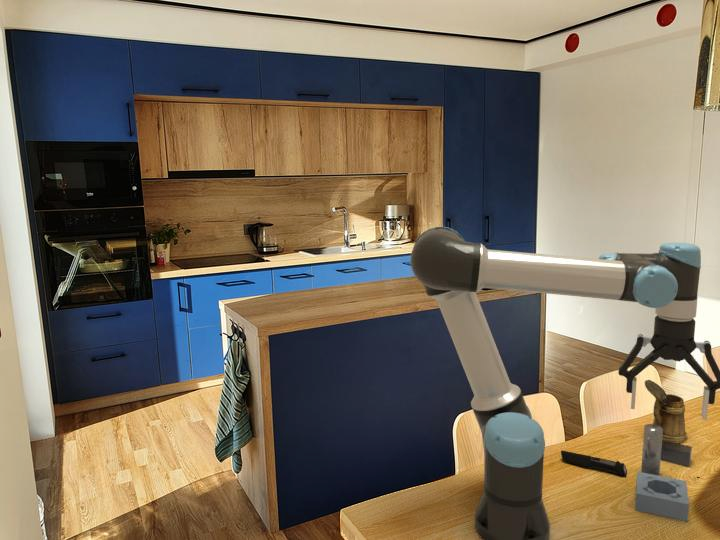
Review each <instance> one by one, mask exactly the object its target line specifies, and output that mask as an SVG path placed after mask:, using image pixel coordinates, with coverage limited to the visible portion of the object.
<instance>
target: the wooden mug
mask: <svg viewBox="0 0 720 540" xmlns="http://www.w3.org/2000/svg"><path fill="white" fill-rule="evenodd" d="M644 386H645V389H646V390H647V392H649V393H650V394H651V396H653V397H654V398H655V400H654V405H653V409H652V410H653V411H652V412H653V417H654V418H653V422H652V424H654V425H658V426H660V427H662V428H663V437H662V440H664V441H669V442H673V443H678V444H683V443H685V442H686V441H687V439H688V437H687V431H686V423H685V412H686V405H685V404H684V403H685V401H684V398H682V397H681V396H678V395H675V394H672V393H671V394H670V393H666V391H665V390H664V388H662V387H661V385H659V384H658V383H656V382H655V381H653V380H652V379H647V380H644Z"/></svg>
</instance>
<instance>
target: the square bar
mask: <svg viewBox="0 0 720 540" xmlns="http://www.w3.org/2000/svg"><path fill="white" fill-rule="evenodd" d="M692 451H693V446H690V445H685V444H683V443H673V442H669V441H664V440H662V449H661V461H662V462H665V463H670V464H674V465H678V466H682V467H687V468H689V467H690V464H691V460H692V453H693V452H692Z"/></svg>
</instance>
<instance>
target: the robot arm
mask: <svg viewBox="0 0 720 540" xmlns="http://www.w3.org/2000/svg"><path fill="white" fill-rule="evenodd" d="M701 260H702V254H701V249H700V247H699V246H698V245H696V244H693V243H690V242H689V243H687V242H663V243H662V244H661V245H660V246H659V250H658V252H654V253H635V252H634V253H630V252H629V253H624V252H621V253H619V252H614V253H613V252H612V253H603V254H601V255H600V256H599V257H598V258H593V257H592V258H590V257H579V256H569V255H556V254H555V255H554V254H546V253H545V254H543V253H536V252H535V253H532V252H521V251H511V250H510V251H509V250H501V249H499V250H498V249H488V248H486V246H485V245H483V243H478V242H477V243H476V242H470V241H466V240H465V239H464V238H463V237H462V235H461V234H460V233H459V232H458V231H457V230H454V229H453V228H450V227H446V226H435V227H431V228H428V229H427V230H425V231H423V232H422V233H421V234H419V235H418V237H417V238H416V240H415V242H414V244H413V247H412V250H411V254H410V268H411V271H412V274H413V275H414V277H415V278H416V279H417V281H419V282H420V283H421V284H422V285H423V288H424V291H425V293H426V296H427V297H428V298H429V299H430V298H431V299H433V300H435V301H436V302H437V304H438V307H439V310H440V313H441V315H442V317H443V319H444V323H445V325H446V327H447V330H448V332H449V335H450V337H451V340H452V342H453V344H454V347H455V350H456V353H457V355H458V358H459V360H460V363H461V365H462V367H463V371H464V373H465V375H466V378H467V380H468V382H469V385H470V388H471V391H472V392H473V395H474V396H473V398H472V400H471V401H470V407H471V409H472V411H473V413H474V416H475V418H476V421H477V424H478V426H479V429H480V433H481V439H482V445H483V446H482V447H483V456H484V468H483V470H484V471H483V476H484V477H483V478H484V479H483V493H482V495H481V497H480V501H479V503H478V505H477V508H476V511H475V515H474V529H475V531H476V533H477V534H478V536H479V538H481V539H482V540H550V533H551V524H550V521H549V520H550V519H549V516H548V513H547V510H546V508H545V504H544V500H543V484H544V483H543V481H544V459H545V458H544V457H545V455H544V454H545V450H546V449H545V448H546V442H545V441H546V440H545V439H546V438H545V433H544V429H543V428H542V426H541V424H539V422H538V421H537V420H536V419H534V418H533V417H532V412H531V410H530V408H529V406H528V405H527V403H526V401H525V398H524V395H523V392H522V390H521V388H520V387H519V386H518V385H517V384H513V383H511V381H510V378H509V376H508V372H507V370H506V367H505V365H504V362H503V360H502V357H501V356H500V352H499V349H498V347H497V345H496V342H495V339H494V337H493V333H492V332H491V331H492V330H491V329H490V327H489V323H488V322H487V318H486V316H485V313H484V311H483V308H482V306H481V303H480V300H479V298H478V296H477V293H479V292H480V291H481V290H483V289H491V290H492V289H494V290H503V291H514V292H515V291H516V292H526V293H538V294H547V295H557V296H570V297H582V298H591V299H601V300H602V299H603V300H612V301H613V300H614V301H622V302H632V303H638V304H640V305H642V306H644V307H648V308H650V309H655V310H654V311H655V314H656V316H655V317H654V325H653V327H654V328H653V335H652V337H649V336H645V335H644V334H641V333H639V334H638V335H637V337H636V342H635V345H634V346H633V347H632V349H631V350H630V352H629V353H628V354H627V356H626V358H625V359H624V361H623V362H622V364H621V365H620V366H619V368H618V371H617V373H618V375H619V376H620V377H624V378H625V379H626V386H625V387H626V389H625V391H626V393H628V394H631V400H630V401H631V402H630V409H632V410H636V406H635V405H636V396H637V395H636V394H637V381H638V380H637V378H638V377H637V376H638V375H639V374H640V373H641V372H643V371H644V370H645V369H646V368H648V367H649V366H650V365H651V364H652V363H653V362H656V361H657V360H658V359H659V358H661V359H663V360H664V361H671V360H672V361H675V362H681V361H684V360H685V362H686V363H687V364H688V365H689V366H690V367H691V368H692V370H693V371H694V372H695V373H696V374H697V376H698V377H699V378H700V379H701V380H702V382H703V383H704V384H705V385H703V395H702V405H701V419H702V420H703V421H707V419H708V410H709V405H714V404H715V400H716V392H717V390H719V389H720V368H719V366H718V363H717V362H716V359H715V358H714V355H713V354H712V345H711V342H710V341H709V340H704V341H701V342H700V341H699V342H698V341H697V342H696V341H695V331H696V330H695V329H696V320H695V318H696V317H697V309H698V308H697V307H698V294H699V292H698V291H699V283H700V274H701V269H702V265H701V263H702V261H701ZM648 344H651V346H652V348H653V349H652V351H650V352H649V353H648V354H647V355H646V356H645V357H644V358H643V359H642V360H640V361H639V362H638V363H637V364H635V365H634V366H633V367H632V368H630V367H631V365H632V364H633V362H634V360H636V357H637V356H638V355H639V353H641V350H642V348H644V347H647V346H648ZM696 349H698V350H699V352H700V353H701V354H704V355H705V358H706V361H707V363H708V365H709V367H710V369H711V371H712V373H713V375H714V377H715V379H716V380H715V381H714V380H713V378H712V377H710V376H709V374H708V373H707V372H706V371H705V369H704V368H703V366H701V365H700V364H699V362H698V361H697V360H696V358H694V355H692V353H693V352H695V350H696ZM629 368H630V370H628V369H629Z"/></svg>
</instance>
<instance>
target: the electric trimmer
mask: <svg viewBox="0 0 720 540" xmlns="http://www.w3.org/2000/svg"><path fill="white" fill-rule="evenodd" d="M560 455H561V459H562V461H565V462H567V463H570V464H574V465H576V466H580V467H582V468H586V469H591V468H592V469H595V470H600V471H604V472H609V473H612V474H616V475H619V476H620V477H621V478H626V477H627V473H628V470H627V467H626V465H625V463H623V462H620V461H619V460H616V461H614V460H610V459H605V458H601V457H597V456H596V457H595V456H591V455H588V454H587V455H586V454H582V453H575V452H572V451H567V450H560Z"/></svg>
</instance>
